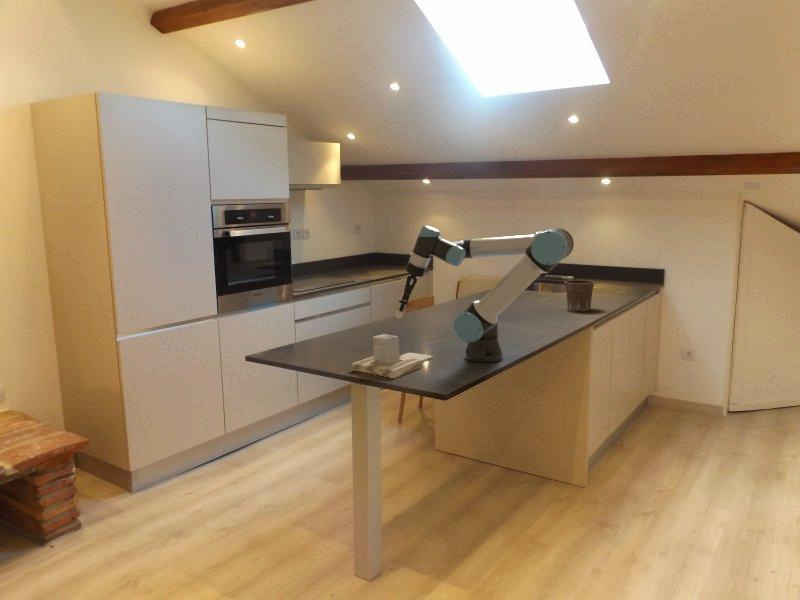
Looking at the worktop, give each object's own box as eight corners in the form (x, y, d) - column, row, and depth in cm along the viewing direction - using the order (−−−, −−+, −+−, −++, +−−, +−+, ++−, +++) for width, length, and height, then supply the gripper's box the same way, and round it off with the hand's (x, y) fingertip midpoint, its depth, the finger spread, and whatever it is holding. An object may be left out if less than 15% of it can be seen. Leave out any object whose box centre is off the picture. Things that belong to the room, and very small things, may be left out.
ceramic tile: (433, 357, 256) (433, 355, 256) (419, 363, 248) (419, 361, 248) (409, 354, 263) (409, 352, 263) (395, 359, 255) (394, 357, 255)
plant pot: (575, 306, 360) (575, 278, 357) (600, 309, 347) (600, 281, 345) (558, 310, 349) (558, 281, 347) (582, 314, 337) (583, 284, 334)
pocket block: (421, 367, 242) (421, 359, 242) (393, 378, 228) (393, 370, 228) (381, 360, 254) (380, 353, 254) (352, 371, 240) (351, 363, 240)
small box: (400, 369, 241) (399, 336, 239) (388, 372, 236) (387, 339, 234) (385, 365, 246) (384, 333, 244) (373, 369, 242) (372, 336, 240)
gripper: (411, 253, 256) (393, 299, 263) (406, 269, 233) (387, 319, 239) (428, 259, 256) (410, 305, 263) (425, 276, 233) (405, 326, 240)
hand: (399, 312), depth 251 cm, fingers open, 13 cm apart
